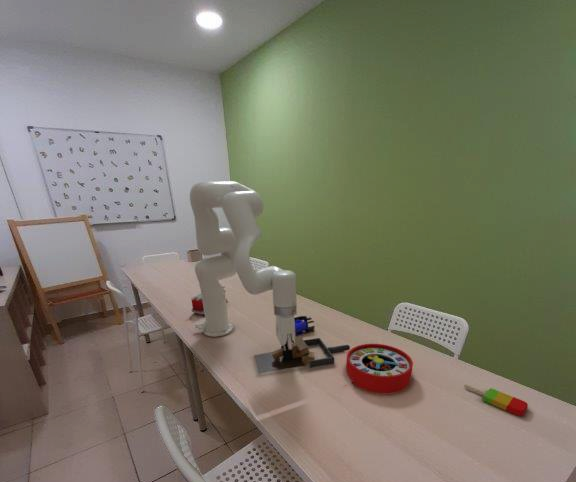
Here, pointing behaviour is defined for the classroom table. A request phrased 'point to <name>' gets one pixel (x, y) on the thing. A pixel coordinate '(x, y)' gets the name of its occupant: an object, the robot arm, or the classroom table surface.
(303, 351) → the brush
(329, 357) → the dustpan
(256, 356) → the tray
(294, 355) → the cork chip
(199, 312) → the toy fire truck
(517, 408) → the popsicle
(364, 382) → the toy clock
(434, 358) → the classroom table surface
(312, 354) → the cork chip
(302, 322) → the character figurine
